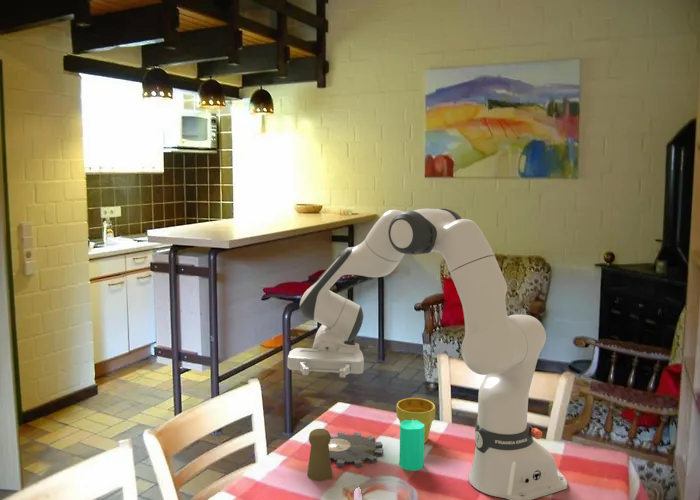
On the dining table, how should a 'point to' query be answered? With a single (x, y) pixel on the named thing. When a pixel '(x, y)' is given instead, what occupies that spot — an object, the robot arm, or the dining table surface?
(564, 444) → the dining table surface
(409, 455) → the candle
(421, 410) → the plant pot
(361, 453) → the sprocket plate
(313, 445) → the cork
